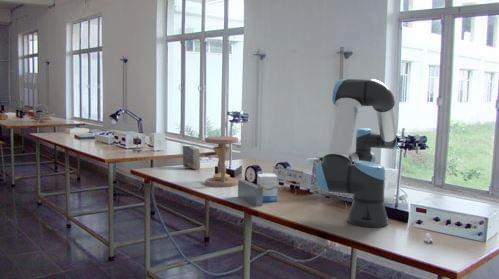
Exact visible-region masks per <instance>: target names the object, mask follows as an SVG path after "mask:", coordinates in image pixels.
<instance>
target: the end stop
mask: <svg viewBox="0 0 499 279" xmlns="http://www.w3.org/2000/svg"><path fill="white" fill-rule="evenodd" d="M237 180H238V184H237V197H238V198H241V199H242V200H244V201H246V202H247V203H249V204H252V205H253V206H255V207H260V206H261V207H262V206H264V205H263V202H264V201H263V187H261V186H258V185H257V183H256V184H255V183H254V182H251V181H249V180H245V179H237Z"/></svg>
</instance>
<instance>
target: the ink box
mask: <svg viewBox="0 0 499 279" xmlns="http://www.w3.org/2000/svg"><path fill="white" fill-rule="evenodd" d="M256 177H257V178H256V185H258V186H261V187H263V202H278V175H276V174H275V173H263V172H262V173H257V176H256Z"/></svg>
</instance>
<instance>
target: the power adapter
mask: <svg viewBox="0 0 499 279" xmlns="http://www.w3.org/2000/svg"><path fill="white" fill-rule="evenodd" d="M423 236H424V237H425V238H424V239H423V241H424V242H427V243H428V244H429V243H430V242H431V243H432V244H434V242H433V238H432V234H431V233H425V234H423Z"/></svg>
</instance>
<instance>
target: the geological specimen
mask: <svg viewBox="0 0 499 279" xmlns="http://www.w3.org/2000/svg"><path fill="white" fill-rule="evenodd" d="M200 156H201V155H200V148H198V147H195V146H193V145H182V166H183V168H189V169H191V168H192V169H193V170H197V169H200V168H201V165H200V164H201V160H200Z"/></svg>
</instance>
